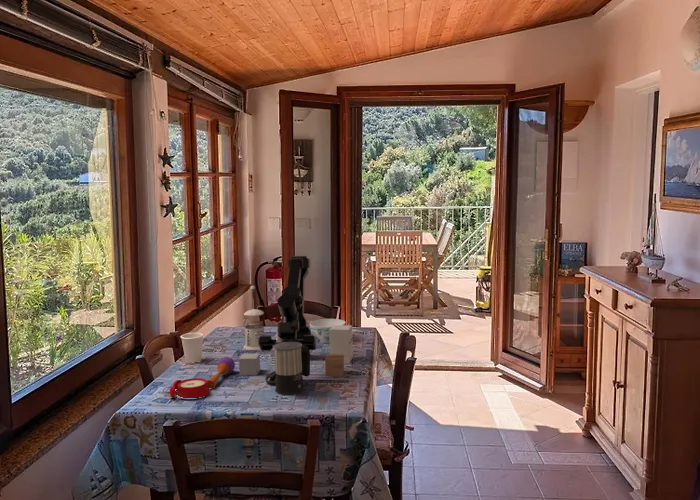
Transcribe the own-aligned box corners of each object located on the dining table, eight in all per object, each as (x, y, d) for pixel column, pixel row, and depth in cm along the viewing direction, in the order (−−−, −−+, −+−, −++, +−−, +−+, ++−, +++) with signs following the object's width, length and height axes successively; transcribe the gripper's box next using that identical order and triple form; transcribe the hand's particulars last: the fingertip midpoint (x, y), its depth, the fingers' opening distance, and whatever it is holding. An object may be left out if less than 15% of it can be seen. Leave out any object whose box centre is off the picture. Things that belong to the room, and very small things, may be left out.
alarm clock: (209, 388, 189) (161, 379, 188) (206, 408, 189) (157, 399, 189) (216, 378, 199) (170, 369, 198) (212, 396, 200) (166, 388, 199)
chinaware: (313, 336, 263) (313, 318, 263) (348, 336, 261) (348, 318, 260) (306, 345, 249) (306, 326, 248) (343, 346, 247) (342, 327, 246)
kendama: (198, 378, 199) (218, 355, 218) (203, 395, 200) (223, 371, 219) (215, 375, 198) (234, 352, 217) (220, 392, 199) (238, 368, 218)
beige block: (243, 370, 218) (242, 353, 218) (260, 370, 218) (259, 353, 217) (239, 375, 212) (238, 358, 212) (256, 375, 212) (256, 358, 211)
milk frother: (296, 396, 190) (294, 350, 188) (251, 391, 195) (249, 346, 194) (314, 382, 203) (313, 338, 201) (272, 378, 209) (270, 335, 207)
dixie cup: (184, 365, 225) (182, 339, 224) (180, 359, 233) (178, 334, 232) (206, 362, 229) (205, 336, 228) (202, 356, 236) (201, 331, 235)
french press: (272, 344, 251) (269, 284, 248) (253, 351, 241) (250, 289, 239) (254, 342, 256) (251, 283, 254) (234, 348, 247) (231, 287, 244)
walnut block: (327, 371, 215) (326, 354, 214) (344, 370, 214) (343, 354, 214) (325, 376, 209) (325, 359, 208) (343, 376, 209) (342, 359, 208)
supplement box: (349, 363, 222) (348, 329, 221) (329, 363, 224) (328, 329, 222) (353, 358, 229) (352, 325, 228) (334, 357, 231) (333, 324, 230)
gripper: (258, 312, 203) (252, 353, 193) (314, 311, 202) (311, 352, 192) (263, 329, 212) (258, 370, 202) (317, 328, 211) (314, 369, 201)
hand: (285, 365), depth 199 cm, fingers closed
